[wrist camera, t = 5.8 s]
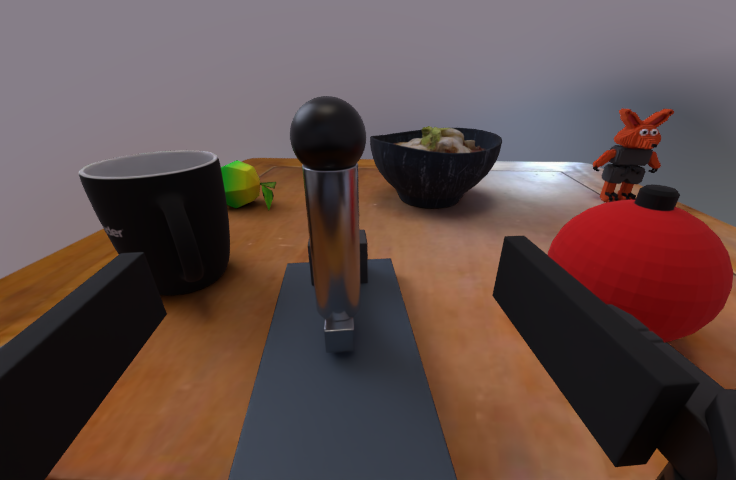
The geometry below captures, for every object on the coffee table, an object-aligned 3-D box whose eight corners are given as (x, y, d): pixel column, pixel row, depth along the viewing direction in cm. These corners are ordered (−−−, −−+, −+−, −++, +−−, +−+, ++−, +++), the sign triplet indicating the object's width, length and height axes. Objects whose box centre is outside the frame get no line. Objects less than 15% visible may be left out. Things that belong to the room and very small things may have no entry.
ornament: (641, 294, 25) (698, 170, 21) (729, 390, 18) (852, 225, 13) (521, 281, 27) (550, 165, 23) (553, 364, 19) (608, 210, 15)
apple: (203, 151, 42) (271, 150, 41) (226, 172, 48) (285, 172, 47) (195, 202, 40) (265, 201, 39) (220, 218, 46) (281, 218, 46)
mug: (125, 270, 29) (80, 159, 25) (226, 243, 34) (204, 146, 30) (135, 348, 21) (68, 200, 16) (268, 297, 26) (245, 172, 21)
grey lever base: (289, 277, 28) (282, 225, 26) (390, 272, 29) (391, 221, 26) (224, 540, 12) (190, 464, 10) (457, 515, 13) (475, 437, 10)
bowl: (351, 191, 50) (349, 124, 45) (438, 176, 57) (443, 117, 52) (414, 232, 36) (420, 141, 32) (518, 206, 43) (535, 129, 39)
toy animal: (597, 207, 43) (630, 111, 37) (580, 194, 47) (606, 108, 42) (664, 210, 42) (707, 112, 36) (639, 197, 46) (674, 108, 41)
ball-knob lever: (319, 262, 26) (303, 91, 21) (359, 260, 27) (356, 90, 21) (309, 354, 18) (278, 98, 12) (370, 350, 18) (369, 98, 12)
